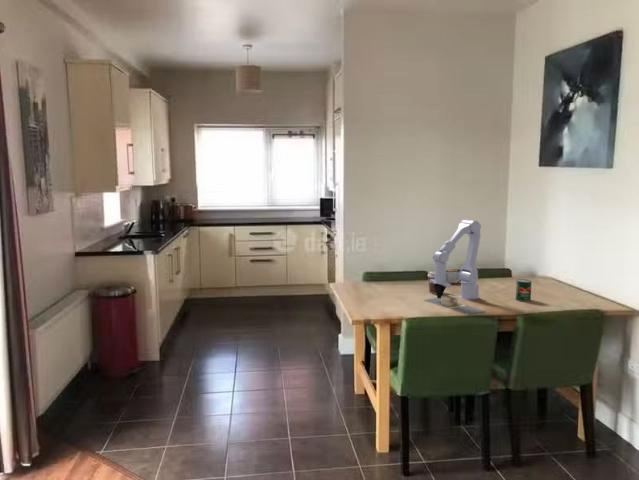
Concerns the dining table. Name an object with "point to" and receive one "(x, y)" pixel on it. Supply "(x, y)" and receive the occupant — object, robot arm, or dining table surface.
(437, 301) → the slide mat
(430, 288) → the coffee cup
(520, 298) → the canned tomato
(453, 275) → the tin
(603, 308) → the dining table surface
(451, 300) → the ash block
